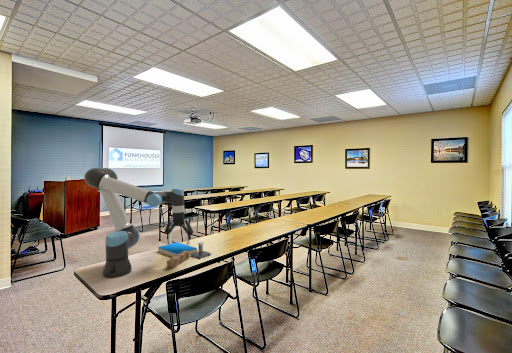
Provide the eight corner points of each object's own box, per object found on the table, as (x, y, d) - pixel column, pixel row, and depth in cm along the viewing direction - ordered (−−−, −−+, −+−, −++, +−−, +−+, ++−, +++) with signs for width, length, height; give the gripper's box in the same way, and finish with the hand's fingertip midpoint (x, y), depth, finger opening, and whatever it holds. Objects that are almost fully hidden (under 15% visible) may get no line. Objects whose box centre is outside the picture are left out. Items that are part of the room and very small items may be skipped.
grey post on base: (200, 259, 172) (200, 245, 171) (190, 256, 177) (190, 243, 177) (210, 254, 180) (210, 242, 179) (201, 252, 185) (201, 240, 185)
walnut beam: (172, 269, 154) (172, 261, 154) (167, 268, 155) (166, 260, 155) (189, 258, 174) (189, 251, 173) (184, 257, 175) (184, 250, 174)
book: (178, 253, 172) (157, 246, 187) (178, 260, 172) (157, 252, 187) (197, 247, 185) (177, 241, 201) (197, 253, 186) (177, 246, 201)
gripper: (198, 211, 164) (199, 243, 164) (165, 210, 171) (166, 241, 171) (192, 213, 157) (193, 247, 157) (158, 212, 163) (159, 244, 164)
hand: (179, 244), depth 164 cm, fingers open, 13 cm apart
